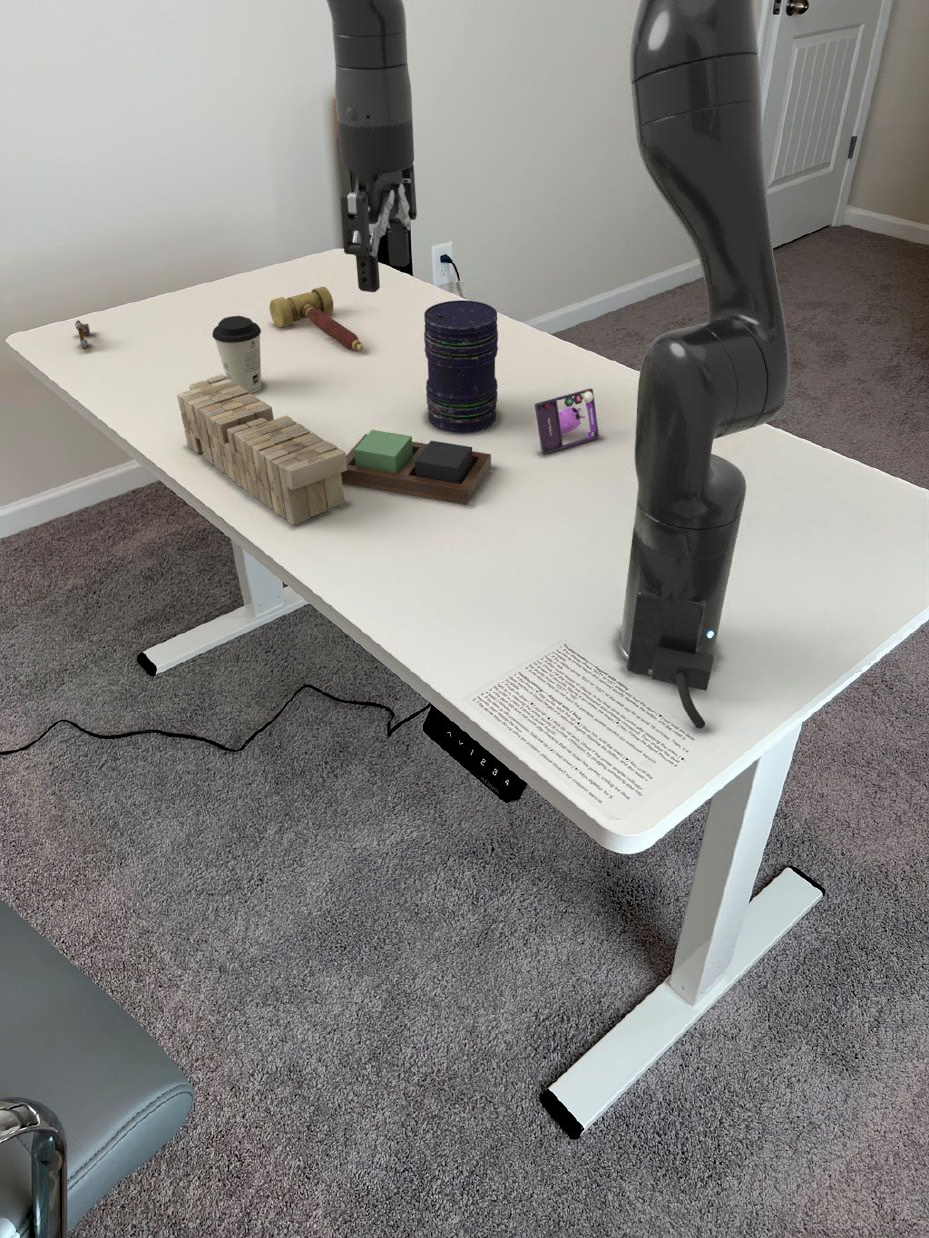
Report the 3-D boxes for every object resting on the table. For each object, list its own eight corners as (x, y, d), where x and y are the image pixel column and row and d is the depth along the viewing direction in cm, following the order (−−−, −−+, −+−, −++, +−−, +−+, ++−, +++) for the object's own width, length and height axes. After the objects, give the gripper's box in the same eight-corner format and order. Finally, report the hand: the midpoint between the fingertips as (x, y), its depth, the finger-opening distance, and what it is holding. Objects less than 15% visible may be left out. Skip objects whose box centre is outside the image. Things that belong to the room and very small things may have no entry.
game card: (538, 404, 124) (596, 388, 127) (518, 402, 128) (573, 386, 132) (546, 455, 126) (602, 438, 130) (526, 451, 131) (580, 435, 134)
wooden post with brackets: (77, 350, 153) (71, 320, 152) (82, 351, 161) (76, 323, 159) (89, 348, 154) (83, 319, 152) (94, 350, 161) (87, 322, 160)
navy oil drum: (484, 397, 141) (484, 296, 131) (507, 427, 133) (509, 322, 124) (418, 407, 138) (414, 305, 129) (438, 438, 131) (435, 332, 122)
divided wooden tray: (467, 505, 118) (467, 490, 116) (336, 482, 122) (335, 467, 121) (491, 468, 124) (491, 454, 123) (366, 447, 129) (365, 433, 128)
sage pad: (396, 479, 121) (395, 456, 119) (355, 471, 123) (353, 449, 121) (413, 458, 125) (411, 436, 123) (373, 451, 127) (371, 429, 125)
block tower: (183, 448, 131) (297, 532, 113) (170, 390, 126) (287, 468, 108) (235, 430, 135) (352, 508, 117) (223, 373, 130) (345, 446, 112)
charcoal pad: (457, 490, 119) (457, 468, 117) (415, 483, 121) (414, 461, 119) (472, 469, 123) (472, 446, 121) (431, 462, 125) (430, 440, 123)
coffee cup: (273, 393, 142) (264, 327, 136) (226, 401, 140) (215, 335, 134) (263, 374, 147) (254, 310, 141) (218, 382, 145) (206, 318, 139)
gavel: (387, 327, 153) (333, 343, 148) (388, 354, 156) (335, 370, 151) (319, 282, 165) (267, 295, 160) (321, 308, 168) (270, 321, 163)
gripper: (381, 133, 90) (391, 304, 100) (434, 103, 100) (439, 260, 110) (308, 128, 92) (326, 296, 102) (368, 99, 102) (379, 254, 112)
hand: (385, 277), depth 106 cm, fingers open, 8 cm apart
